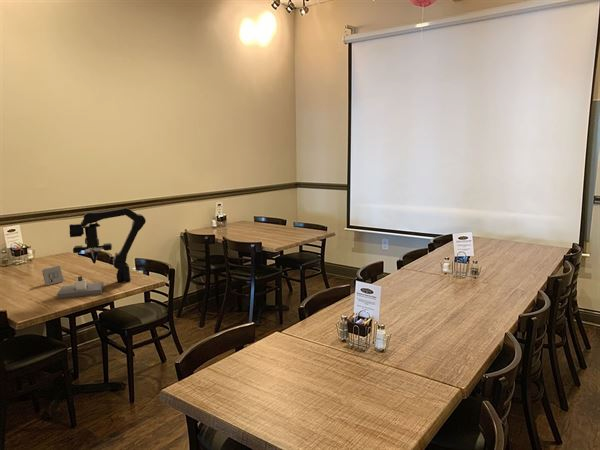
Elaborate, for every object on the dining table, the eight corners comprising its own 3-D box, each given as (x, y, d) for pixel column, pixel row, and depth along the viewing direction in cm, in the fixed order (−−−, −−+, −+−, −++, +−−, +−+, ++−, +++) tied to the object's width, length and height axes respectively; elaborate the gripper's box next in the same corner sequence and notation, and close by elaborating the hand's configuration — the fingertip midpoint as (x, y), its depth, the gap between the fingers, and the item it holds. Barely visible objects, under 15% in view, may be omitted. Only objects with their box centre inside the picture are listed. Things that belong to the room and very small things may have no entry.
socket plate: (103, 286, 243) (103, 282, 243) (101, 294, 231) (100, 289, 230) (62, 290, 237) (62, 286, 237) (57, 299, 225) (57, 294, 225)
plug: (86, 289, 237) (85, 275, 235) (85, 292, 233) (83, 277, 231) (77, 290, 235) (75, 276, 234) (76, 293, 231) (74, 278, 230)
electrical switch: (46, 286, 246) (43, 269, 245) (42, 285, 249) (40, 268, 248) (64, 281, 253) (61, 265, 252) (60, 281, 256) (57, 265, 255)
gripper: (111, 231, 252) (114, 258, 255) (74, 233, 246) (78, 261, 249) (109, 235, 241) (112, 263, 244) (71, 237, 236) (74, 266, 239)
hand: (94, 263), depth 244 cm, fingers closed
